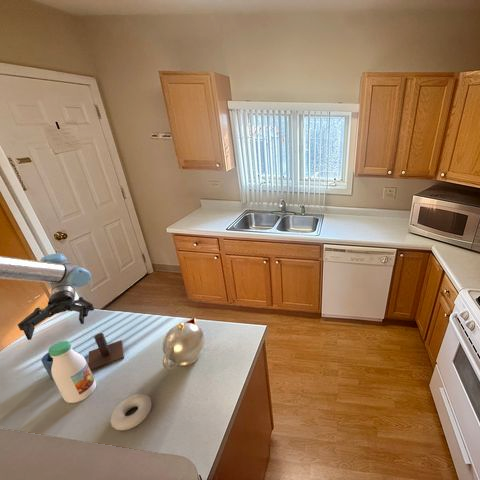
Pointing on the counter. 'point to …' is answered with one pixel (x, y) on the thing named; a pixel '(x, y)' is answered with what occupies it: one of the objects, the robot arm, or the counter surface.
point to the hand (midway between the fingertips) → (55, 328)
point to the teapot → (183, 344)
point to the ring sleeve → (48, 364)
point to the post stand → (105, 353)
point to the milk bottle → (71, 373)
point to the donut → (128, 422)
